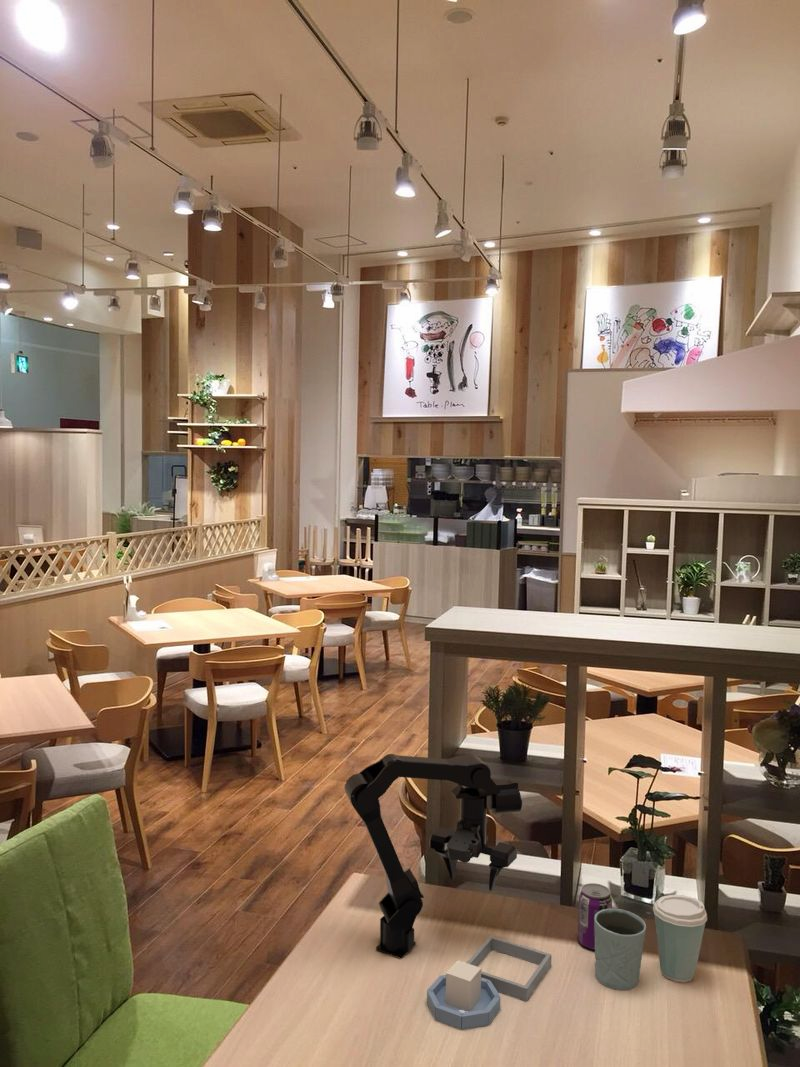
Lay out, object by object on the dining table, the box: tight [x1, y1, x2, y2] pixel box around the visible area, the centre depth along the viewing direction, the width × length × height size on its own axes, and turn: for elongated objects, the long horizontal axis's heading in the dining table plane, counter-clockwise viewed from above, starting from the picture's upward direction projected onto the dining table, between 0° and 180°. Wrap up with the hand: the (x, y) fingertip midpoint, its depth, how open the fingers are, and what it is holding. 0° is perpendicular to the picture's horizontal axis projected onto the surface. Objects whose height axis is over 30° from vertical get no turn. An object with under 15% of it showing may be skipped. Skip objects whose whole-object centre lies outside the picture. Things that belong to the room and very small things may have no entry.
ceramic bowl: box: [426, 974, 502, 1031], centre depth 161 cm, size 13×13×2 cm
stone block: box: [445, 959, 482, 1012], centre depth 160 cm, size 5×5×6 cm
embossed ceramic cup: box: [594, 908, 647, 991], centre depth 170 cm, size 10×10×12 cm
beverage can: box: [577, 882, 613, 950], centre depth 183 cm, size 7×7×12 cm
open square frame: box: [466, 935, 552, 1002], centre depth 172 cm, size 14×14×2 cm
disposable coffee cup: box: [652, 894, 708, 984], centre depth 172 cm, size 11×11×15 cm
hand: (471, 884), depth 184 cm, fingers open, 9 cm apart
